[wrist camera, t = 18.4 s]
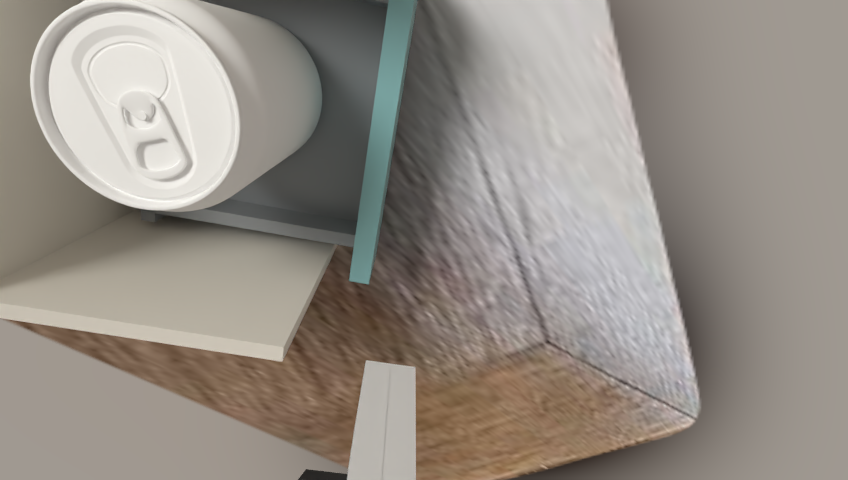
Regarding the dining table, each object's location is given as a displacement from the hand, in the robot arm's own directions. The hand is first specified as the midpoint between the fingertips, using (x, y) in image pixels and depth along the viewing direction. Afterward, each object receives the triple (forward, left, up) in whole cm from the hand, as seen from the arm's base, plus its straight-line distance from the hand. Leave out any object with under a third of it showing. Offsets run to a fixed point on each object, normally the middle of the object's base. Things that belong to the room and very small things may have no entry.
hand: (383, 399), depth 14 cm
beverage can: (-10, +6, -17) cm, 21 cm away
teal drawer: (-9, +6, -18) cm, 21 cm away
